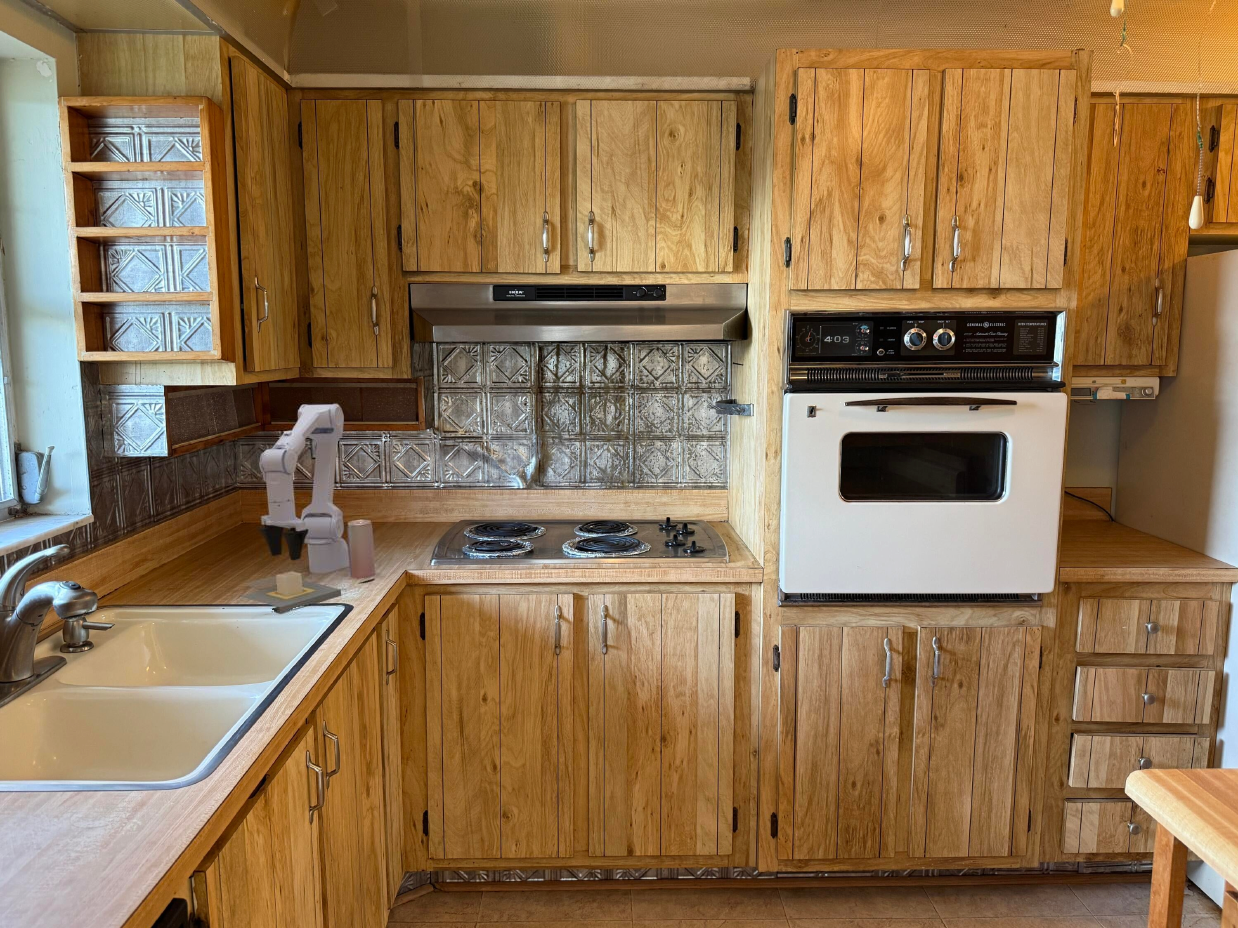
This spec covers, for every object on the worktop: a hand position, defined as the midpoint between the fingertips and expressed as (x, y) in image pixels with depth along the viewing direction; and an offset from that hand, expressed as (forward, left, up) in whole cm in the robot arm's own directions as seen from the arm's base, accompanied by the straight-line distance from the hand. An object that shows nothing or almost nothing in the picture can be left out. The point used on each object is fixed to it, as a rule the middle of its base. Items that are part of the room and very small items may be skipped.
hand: (286, 557), depth 203 cm
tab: (-2, -12, -10) cm, 15 cm away
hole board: (0, +1, -10) cm, 10 cm away
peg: (+1, +1, -10) cm, 10 cm away
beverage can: (-19, +3, -10) cm, 21 cm away
